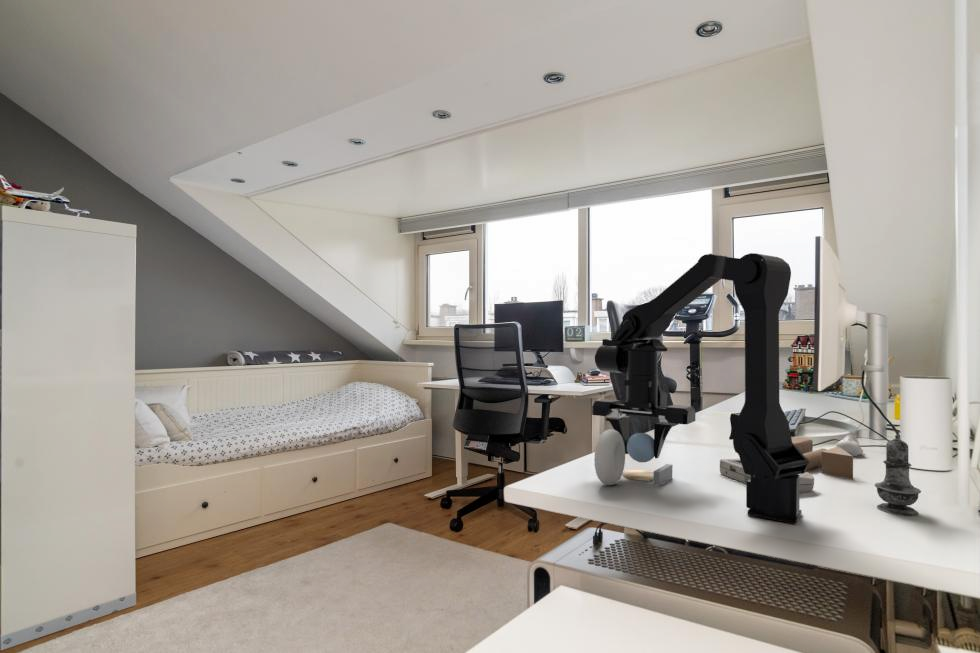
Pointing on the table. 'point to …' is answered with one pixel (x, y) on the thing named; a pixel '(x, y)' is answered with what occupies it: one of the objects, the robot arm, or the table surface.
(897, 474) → the grey stone finial
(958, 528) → the table surface
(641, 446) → the ball
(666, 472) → the gray rectangular bar
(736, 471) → the handheld gaming console
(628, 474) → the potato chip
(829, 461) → the wooden block set
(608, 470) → the white plump rounded part
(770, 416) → the robot arm
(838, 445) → the pale two-lobed sculpture
